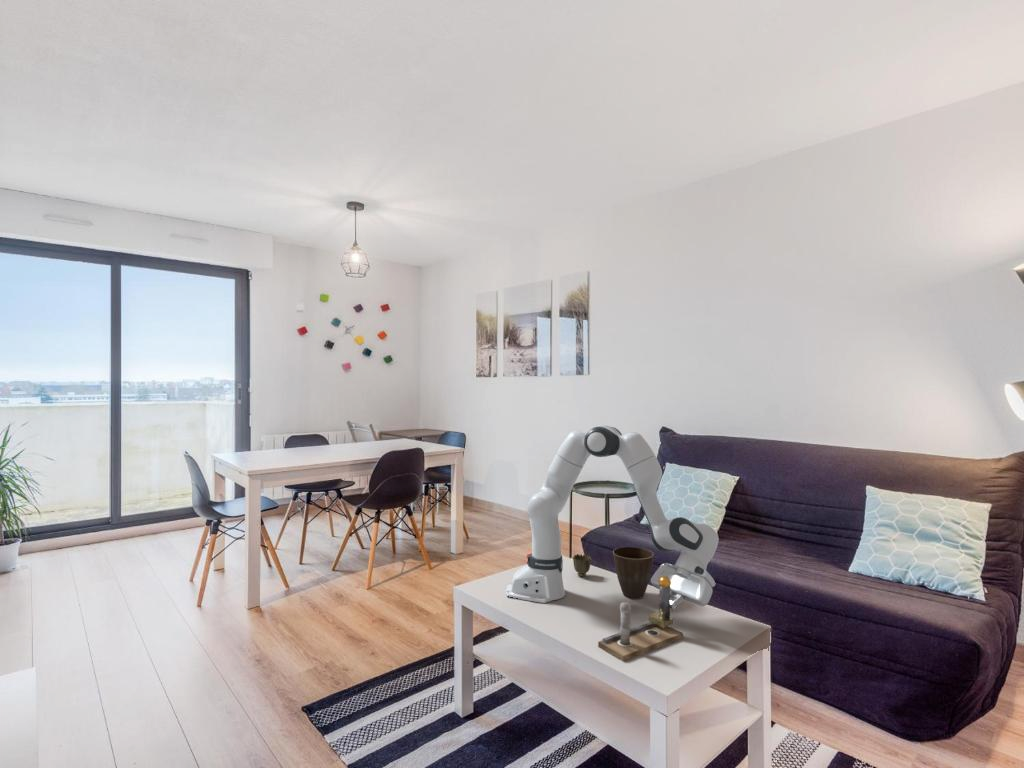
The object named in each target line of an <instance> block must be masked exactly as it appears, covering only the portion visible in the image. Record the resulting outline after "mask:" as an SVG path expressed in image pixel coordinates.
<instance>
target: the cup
mask: <svg viewBox="0 0 1024 768" xmlns="http://www.w3.org/2000/svg"><path fill="white" fill-rule="evenodd" d="M572 561H573V562H572V563H573V568H574V570H575V572H576V574H577V576H578V577H579V576H582V577H581V578H584V577H583V576H585V577H586V576H587V573H588V572H589V571H590V568H591V561H592V557H591V556H590V555H587V554H582V553H581V554H579V553H577V554H574V555H573V556H572Z"/></svg>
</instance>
